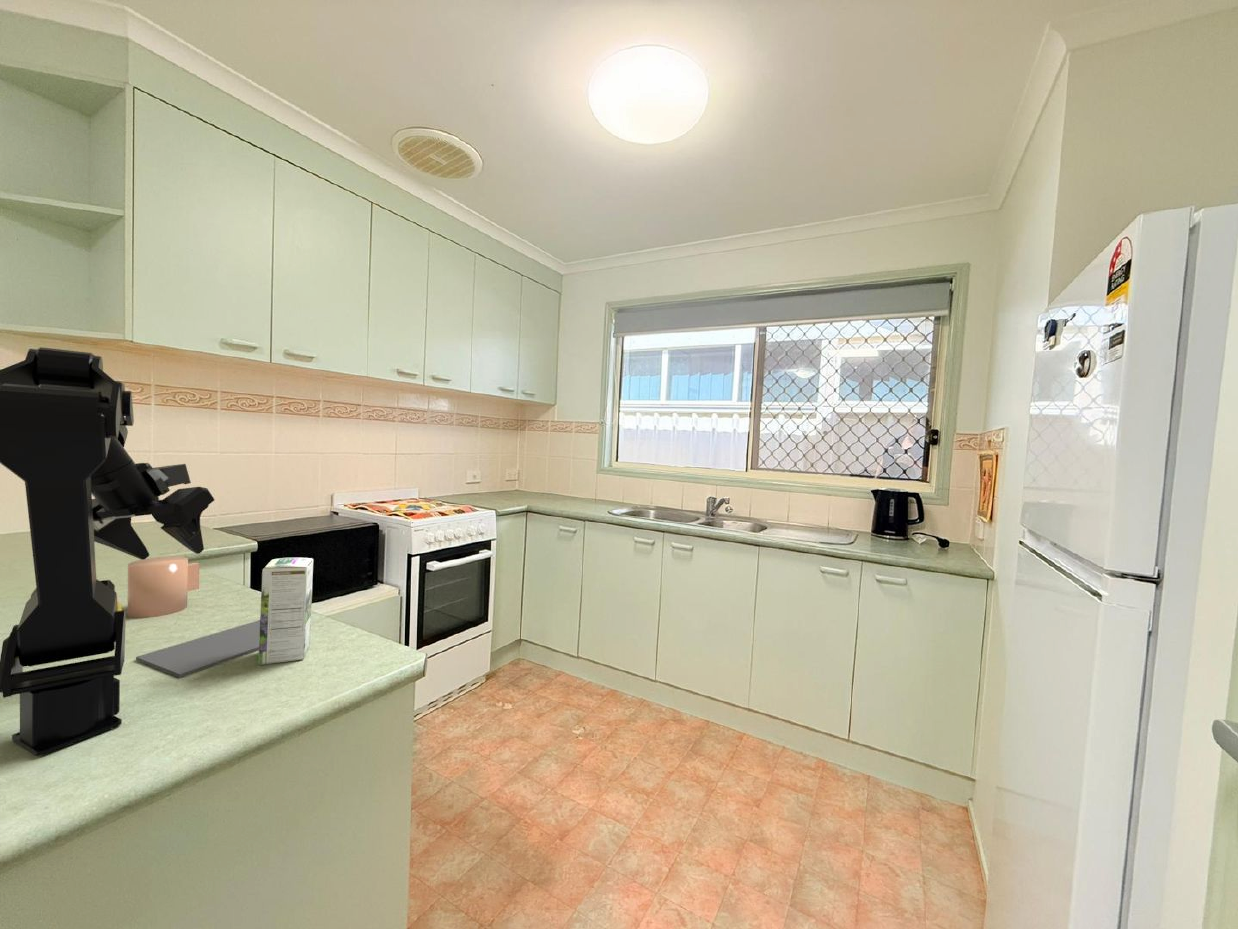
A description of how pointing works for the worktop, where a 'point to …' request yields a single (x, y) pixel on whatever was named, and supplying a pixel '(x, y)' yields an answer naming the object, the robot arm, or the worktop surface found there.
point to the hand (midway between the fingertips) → (173, 554)
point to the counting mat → (205, 651)
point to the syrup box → (285, 610)
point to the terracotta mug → (160, 586)
